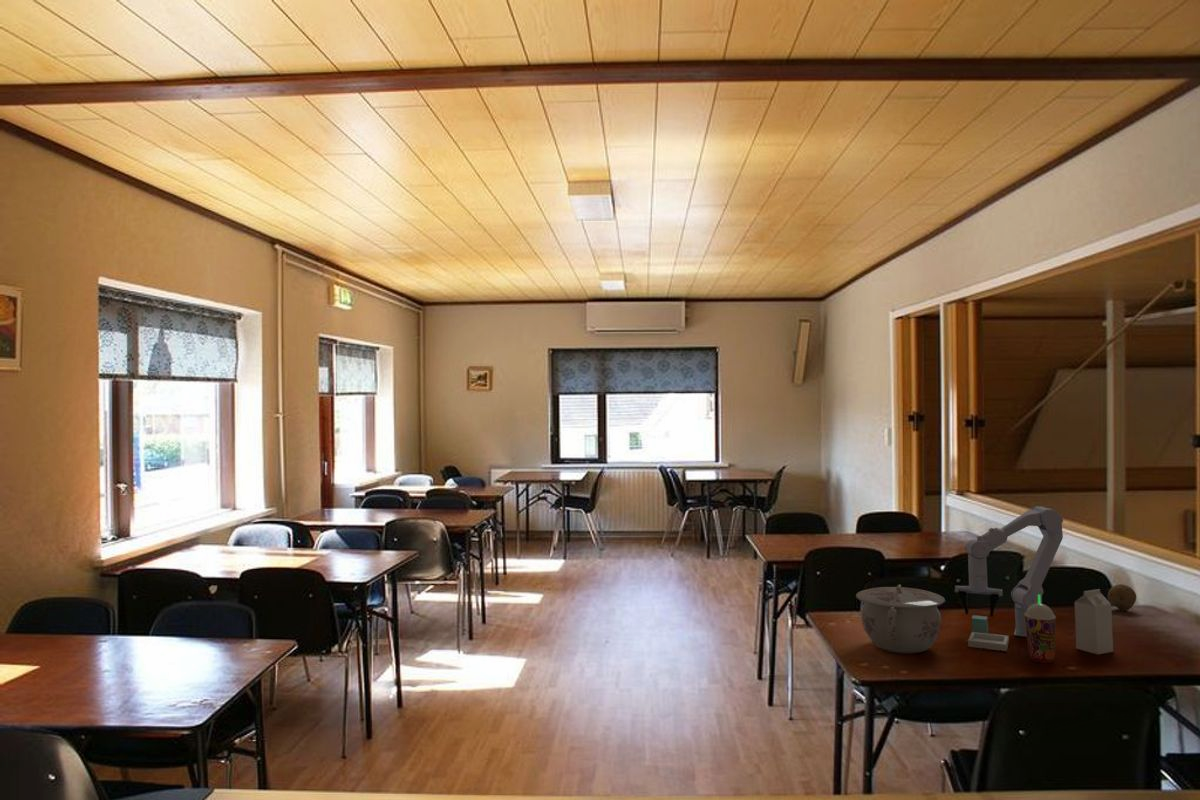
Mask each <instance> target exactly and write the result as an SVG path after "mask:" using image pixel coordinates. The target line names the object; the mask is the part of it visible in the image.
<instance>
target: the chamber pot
mask: <svg viewBox="0 0 1200 800" xmlns="http://www.w3.org/2000/svg"><path fill="white" fill-rule="evenodd" d="M855 598H857V600H859V601H860V602H863V605H862V606H861V609H860V612H861V613H860V614H861V622H862V627H863V630H864V632H865V634H866V635H867V637H868V638H869V640H870V641H871V643H873V645H874V646H876V647H877V648H879V649H882V650H883V651H886V652H891V653H894V652H895V654H902V653H903V654H904V655H907V654H908V655H909V654H911V655H912V654H918V653H922V652H926V651H928V650H929V649H930V648H931V647H933V645H934V644H935V642H936V640H937V639H938V638H939V636H940V631H941V626H942V614H941V613H940V611H939V609H938V606H941V605H943V604H944V603H945V602H946V600H945V597H944V596H942V595H940V594H938V593H935V592H932V591H928V590H925V589H921V588H914V587H913V588H912V587H906V586H905V587H902V584H900V583H899V584H897V586H881V587H872V588H867V589H864V590H863V589H862V590H860V591H858V592H857V593H856V595H855ZM903 654H902V655H903Z"/></svg>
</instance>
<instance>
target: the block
mask: <svg viewBox="0 0 1200 800" xmlns="http://www.w3.org/2000/svg"><path fill="white" fill-rule="evenodd" d="M972 632H977V633H987V634H989V618H988V616H987V615H985V616H984V615H975V614H973V615H972V617H971V633H972Z"/></svg>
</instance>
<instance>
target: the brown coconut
mask: <svg viewBox="0 0 1200 800" xmlns="http://www.w3.org/2000/svg"><path fill="white" fill-rule="evenodd" d="M1107 600H1108V601H1109V602H1110V603H1111V606H1114V607H1116V608H1117V609H1118V610H1120V611H1121V612H1127V611H1129V610H1130V609H1132V608H1133V606H1135V603H1136V601H1137V593H1136V592H1135V590H1134V589H1133V588H1132V587H1131V586H1128V585H1126V584H1115V585H1114V586H1111V588H1109V590H1108V592H1107Z"/></svg>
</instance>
